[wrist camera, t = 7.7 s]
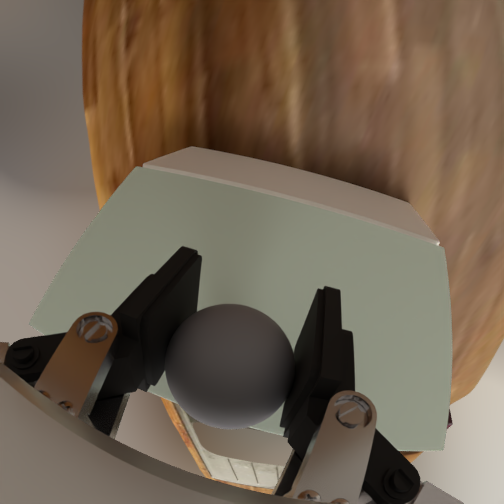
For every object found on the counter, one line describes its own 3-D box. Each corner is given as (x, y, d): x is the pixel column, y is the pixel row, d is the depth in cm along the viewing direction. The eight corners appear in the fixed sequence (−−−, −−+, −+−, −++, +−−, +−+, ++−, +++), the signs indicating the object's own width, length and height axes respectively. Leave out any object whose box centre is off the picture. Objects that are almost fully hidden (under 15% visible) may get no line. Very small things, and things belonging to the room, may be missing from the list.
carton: (191, 146, 30) (143, 163, 22) (409, 203, 27) (439, 241, 19) (181, 255, 37) (143, 298, 29) (364, 306, 34) (371, 364, 26)
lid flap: (137, 172, 21) (120, 92, 15) (440, 252, 18) (490, 184, 13) (30, 334, 13) (-46, 269, 7) (435, 458, 10) (534, 444, 4)
